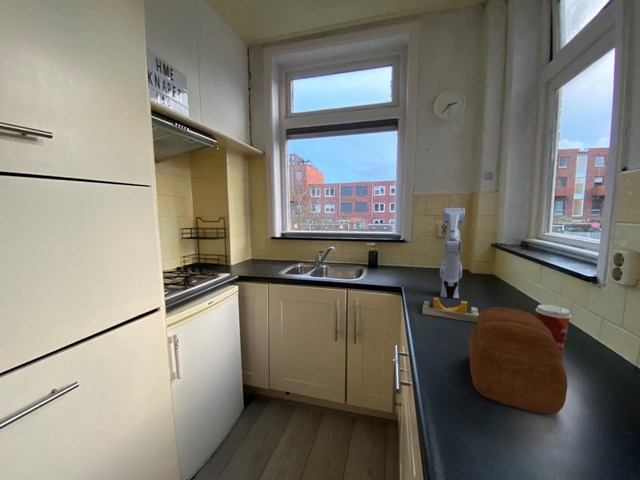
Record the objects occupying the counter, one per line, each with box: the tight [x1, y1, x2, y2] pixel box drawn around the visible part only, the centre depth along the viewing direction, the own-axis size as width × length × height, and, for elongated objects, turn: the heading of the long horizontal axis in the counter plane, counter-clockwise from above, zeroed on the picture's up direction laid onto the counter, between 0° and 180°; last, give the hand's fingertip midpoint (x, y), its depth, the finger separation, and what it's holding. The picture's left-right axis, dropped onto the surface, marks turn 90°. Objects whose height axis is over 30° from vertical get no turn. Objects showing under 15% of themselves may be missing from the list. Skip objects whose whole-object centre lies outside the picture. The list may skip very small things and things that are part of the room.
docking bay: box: [421, 300, 480, 324], centre depth 106 cm, size 10×20×2 cm, turn 63°
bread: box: [468, 306, 568, 415], centre depth 62 cm, size 18×22×17 cm
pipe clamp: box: [432, 296, 468, 313], centre depth 105 cm, size 12×4×6 cm, turn 63°
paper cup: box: [535, 304, 572, 361], centre depth 74 cm, size 8×8×14 cm
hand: (449, 297), depth 114 cm, fingers closed
